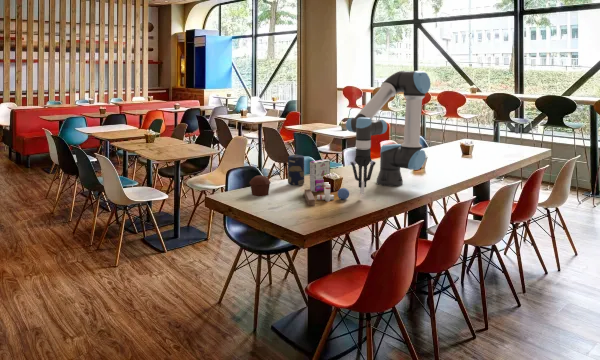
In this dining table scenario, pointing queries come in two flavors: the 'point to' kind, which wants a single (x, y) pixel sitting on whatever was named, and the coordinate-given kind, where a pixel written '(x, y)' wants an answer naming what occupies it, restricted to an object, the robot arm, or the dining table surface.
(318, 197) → the front pin
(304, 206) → the dining table surface
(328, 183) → the pin
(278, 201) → the dining table surface
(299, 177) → the canister
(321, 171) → the candy bar box
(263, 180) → the muffin
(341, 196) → the ball
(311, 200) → the back wall
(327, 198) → the pin
